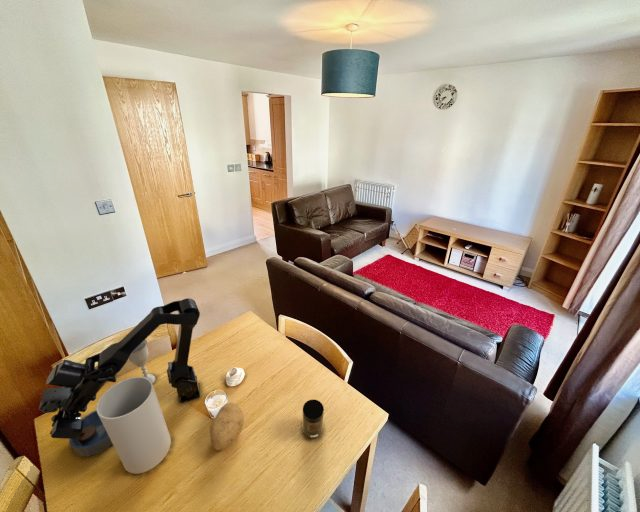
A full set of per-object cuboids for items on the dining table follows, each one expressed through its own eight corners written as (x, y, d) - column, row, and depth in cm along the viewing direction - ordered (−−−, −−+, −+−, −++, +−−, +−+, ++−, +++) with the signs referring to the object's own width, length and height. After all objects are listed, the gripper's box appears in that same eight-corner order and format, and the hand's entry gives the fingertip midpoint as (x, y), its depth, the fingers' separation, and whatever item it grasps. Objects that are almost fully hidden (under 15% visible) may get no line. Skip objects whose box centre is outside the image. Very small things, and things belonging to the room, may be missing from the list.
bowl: (128, 408, 95) (125, 401, 94) (120, 445, 84) (117, 437, 83) (81, 422, 90) (77, 415, 89) (67, 464, 79) (61, 456, 78)
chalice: (148, 390, 102) (135, 355, 94) (132, 387, 103) (118, 351, 95) (162, 374, 108) (151, 340, 100) (147, 371, 109) (135, 337, 102)
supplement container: (319, 417, 95) (320, 397, 90) (325, 436, 89) (326, 416, 84) (300, 422, 93) (300, 402, 88) (305, 442, 87) (305, 421, 82)
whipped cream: (238, 390, 104) (238, 382, 102) (221, 387, 104) (220, 379, 102) (246, 372, 111) (246, 364, 108) (230, 369, 111) (230, 361, 109)
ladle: (98, 426, 88) (85, 401, 83) (94, 439, 85) (80, 414, 80) (68, 435, 86) (53, 410, 80) (63, 449, 82) (46, 424, 77)
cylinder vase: (137, 485, 75) (110, 428, 65) (115, 458, 81) (87, 402, 70) (179, 445, 85) (162, 390, 74) (157, 423, 91) (138, 369, 80)
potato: (204, 457, 82) (200, 441, 79) (220, 413, 95) (217, 398, 91) (236, 459, 82) (233, 443, 78) (248, 414, 95) (246, 399, 91)
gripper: (61, 359, 82) (26, 400, 81) (48, 410, 68) (5, 460, 67) (101, 368, 89) (69, 405, 89) (97, 415, 76) (59, 460, 75)
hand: (52, 430), depth 80 cm, fingers closed
